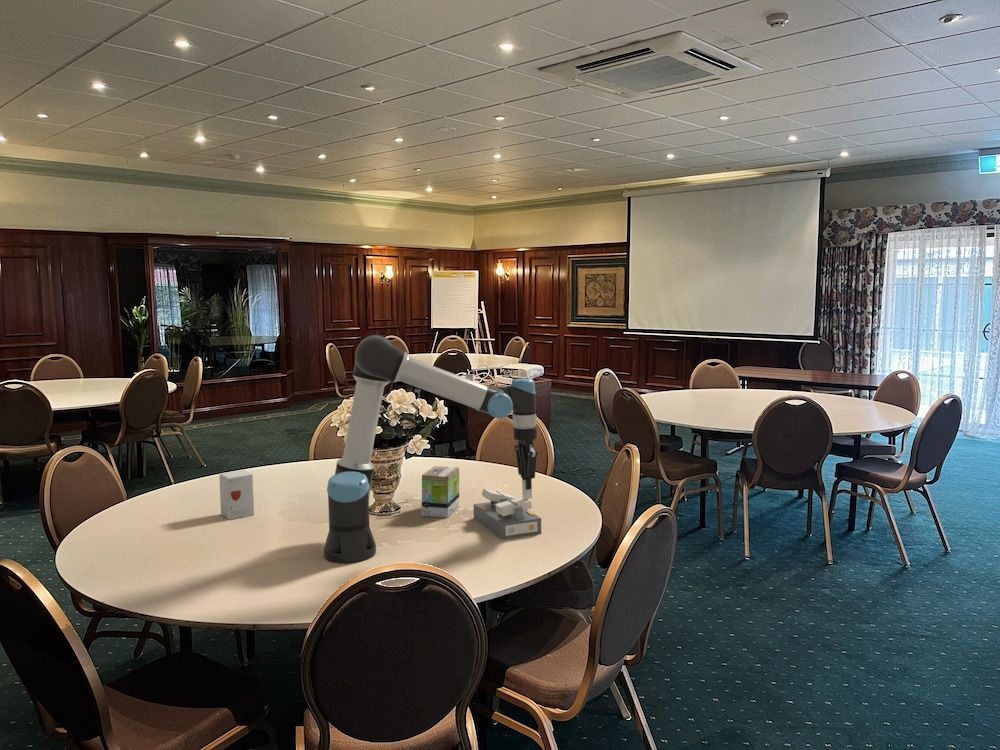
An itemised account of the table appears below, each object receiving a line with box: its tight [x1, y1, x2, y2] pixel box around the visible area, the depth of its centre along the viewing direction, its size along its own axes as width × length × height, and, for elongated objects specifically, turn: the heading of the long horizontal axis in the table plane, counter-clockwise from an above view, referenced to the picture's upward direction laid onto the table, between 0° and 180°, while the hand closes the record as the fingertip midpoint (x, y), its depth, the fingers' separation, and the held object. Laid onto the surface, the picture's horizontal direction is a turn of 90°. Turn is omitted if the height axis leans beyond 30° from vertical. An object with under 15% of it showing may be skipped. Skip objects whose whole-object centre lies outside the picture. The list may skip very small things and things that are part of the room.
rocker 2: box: [495, 496, 533, 516], centre depth 224 cm, size 10×6×2 cm, turn 113°
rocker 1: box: [481, 488, 517, 502], centre depth 235 cm, size 10×6×2 cm, turn 113°
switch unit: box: [473, 498, 542, 540], centre depth 230 cm, size 14×24×9 cm, turn 23°
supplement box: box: [218, 469, 255, 520], centre depth 245 cm, size 9×9×15 cm
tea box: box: [421, 465, 460, 518], centre depth 247 cm, size 15×10×15 cm, turn 168°
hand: (527, 498), depth 226 cm, fingers closed
